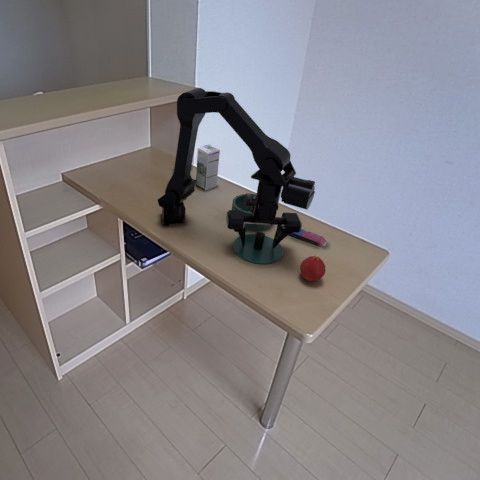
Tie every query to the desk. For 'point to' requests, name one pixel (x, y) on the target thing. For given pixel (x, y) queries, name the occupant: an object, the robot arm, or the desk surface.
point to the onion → (312, 268)
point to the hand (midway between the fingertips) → (258, 246)
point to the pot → (247, 213)
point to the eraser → (309, 238)
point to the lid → (258, 249)
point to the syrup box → (207, 167)
